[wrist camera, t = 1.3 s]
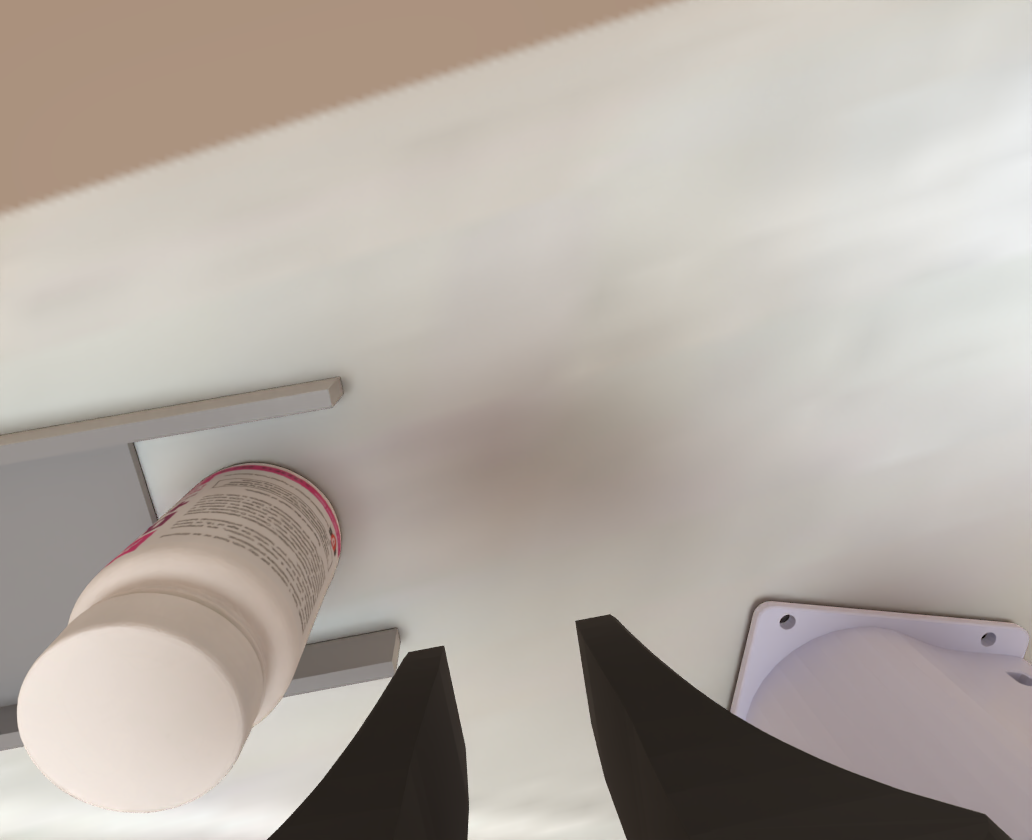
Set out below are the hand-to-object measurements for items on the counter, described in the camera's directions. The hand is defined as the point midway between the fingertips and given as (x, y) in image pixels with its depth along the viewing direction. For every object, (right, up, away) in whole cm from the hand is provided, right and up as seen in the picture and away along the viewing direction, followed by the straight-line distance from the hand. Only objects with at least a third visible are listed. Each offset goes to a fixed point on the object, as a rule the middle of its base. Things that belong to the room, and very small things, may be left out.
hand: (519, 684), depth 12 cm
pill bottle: (-8, +1, +9) cm, 12 cm away
